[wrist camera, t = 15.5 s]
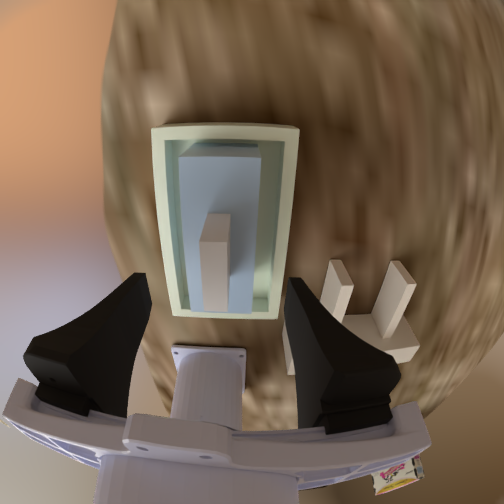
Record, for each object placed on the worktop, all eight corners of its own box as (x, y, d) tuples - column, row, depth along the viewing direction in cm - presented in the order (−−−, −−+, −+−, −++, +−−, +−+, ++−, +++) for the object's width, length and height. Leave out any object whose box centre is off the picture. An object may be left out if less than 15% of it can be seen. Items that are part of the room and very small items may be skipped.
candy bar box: (401, 419, 45) (418, 479, 31) (409, 420, 47) (426, 476, 33) (362, 439, 50) (374, 496, 36) (372, 440, 51) (384, 493, 37)
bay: (393, 327, 27) (409, 361, 23) (282, 334, 27) (287, 374, 22) (423, 261, 22) (449, 293, 18) (294, 258, 22) (305, 299, 18)
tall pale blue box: (250, 273, 22) (252, 349, 15) (199, 272, 21) (184, 346, 15) (257, 143, 16) (265, 174, 10) (194, 142, 16) (161, 173, 10)
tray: (274, 299, 24) (277, 319, 22) (178, 296, 24) (172, 315, 22) (292, 125, 17) (299, 129, 14) (163, 124, 16) (151, 128, 14)
